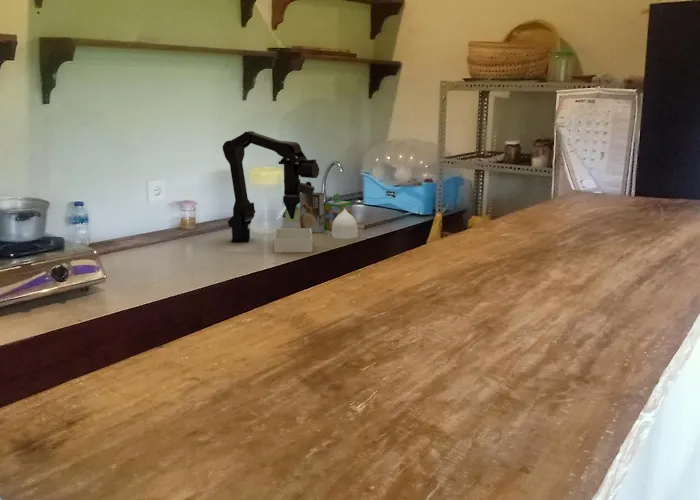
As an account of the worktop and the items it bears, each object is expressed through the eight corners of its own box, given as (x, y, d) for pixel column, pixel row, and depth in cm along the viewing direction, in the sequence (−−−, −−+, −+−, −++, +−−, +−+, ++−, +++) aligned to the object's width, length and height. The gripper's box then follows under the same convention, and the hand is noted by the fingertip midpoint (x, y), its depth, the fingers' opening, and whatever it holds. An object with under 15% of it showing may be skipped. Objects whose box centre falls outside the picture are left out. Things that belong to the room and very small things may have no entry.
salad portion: (285, 222, 256) (285, 206, 254) (285, 219, 261) (285, 204, 259) (299, 222, 256) (299, 206, 255) (299, 219, 261) (299, 204, 260)
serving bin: (274, 252, 252) (273, 239, 251) (275, 241, 269) (275, 228, 268) (312, 252, 254) (312, 238, 252) (311, 241, 270) (311, 228, 269)
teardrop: (353, 232, 286) (353, 204, 283) (361, 238, 276) (362, 209, 273) (328, 233, 283) (328, 205, 280) (335, 240, 273) (335, 210, 270)
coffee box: (325, 229, 290) (325, 192, 286) (320, 233, 284) (320, 195, 280) (305, 228, 292) (304, 191, 288) (299, 231, 286) (299, 193, 282)
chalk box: (341, 231, 287) (341, 197, 283) (323, 229, 291) (323, 195, 287) (352, 227, 294) (352, 193, 291) (334, 225, 299) (334, 192, 295)
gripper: (313, 180, 246) (313, 222, 250) (312, 172, 264) (313, 212, 268) (282, 180, 245) (283, 222, 249) (284, 173, 263) (284, 212, 267)
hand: (292, 217), depth 258 cm, fingers closed on salad portion, 5 cm apart
